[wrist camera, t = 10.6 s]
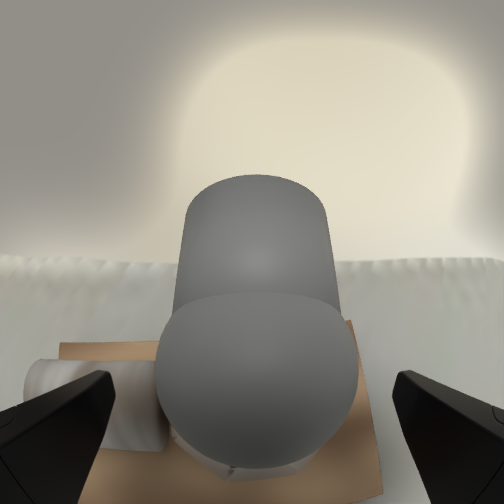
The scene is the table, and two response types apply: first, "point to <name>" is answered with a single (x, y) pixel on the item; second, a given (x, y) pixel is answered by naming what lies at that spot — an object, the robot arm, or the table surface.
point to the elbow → (256, 327)
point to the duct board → (203, 486)
